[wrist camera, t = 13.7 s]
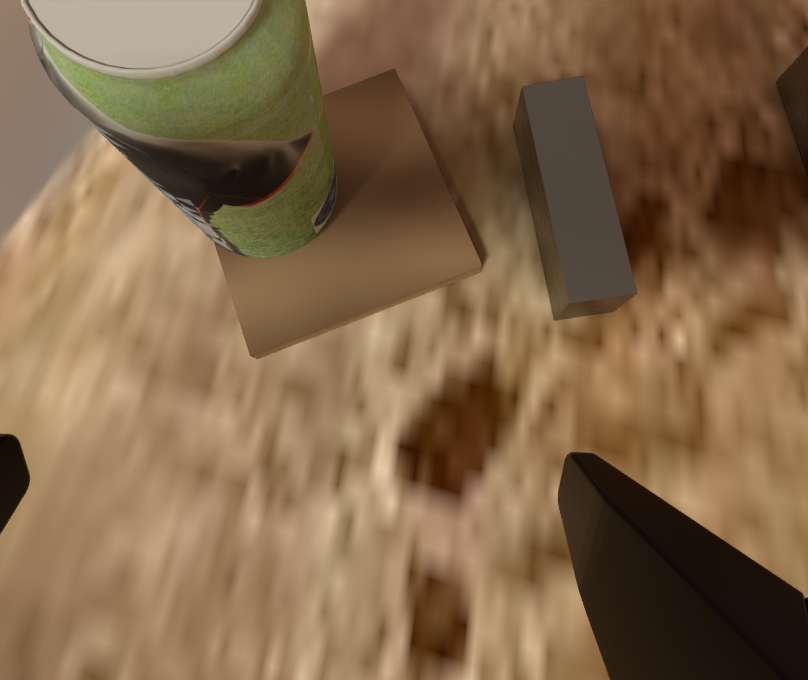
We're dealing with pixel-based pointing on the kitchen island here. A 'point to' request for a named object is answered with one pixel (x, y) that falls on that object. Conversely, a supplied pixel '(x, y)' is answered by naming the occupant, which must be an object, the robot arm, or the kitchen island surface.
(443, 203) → the walnut board
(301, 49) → the beverage can
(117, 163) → the kitchen island surface
